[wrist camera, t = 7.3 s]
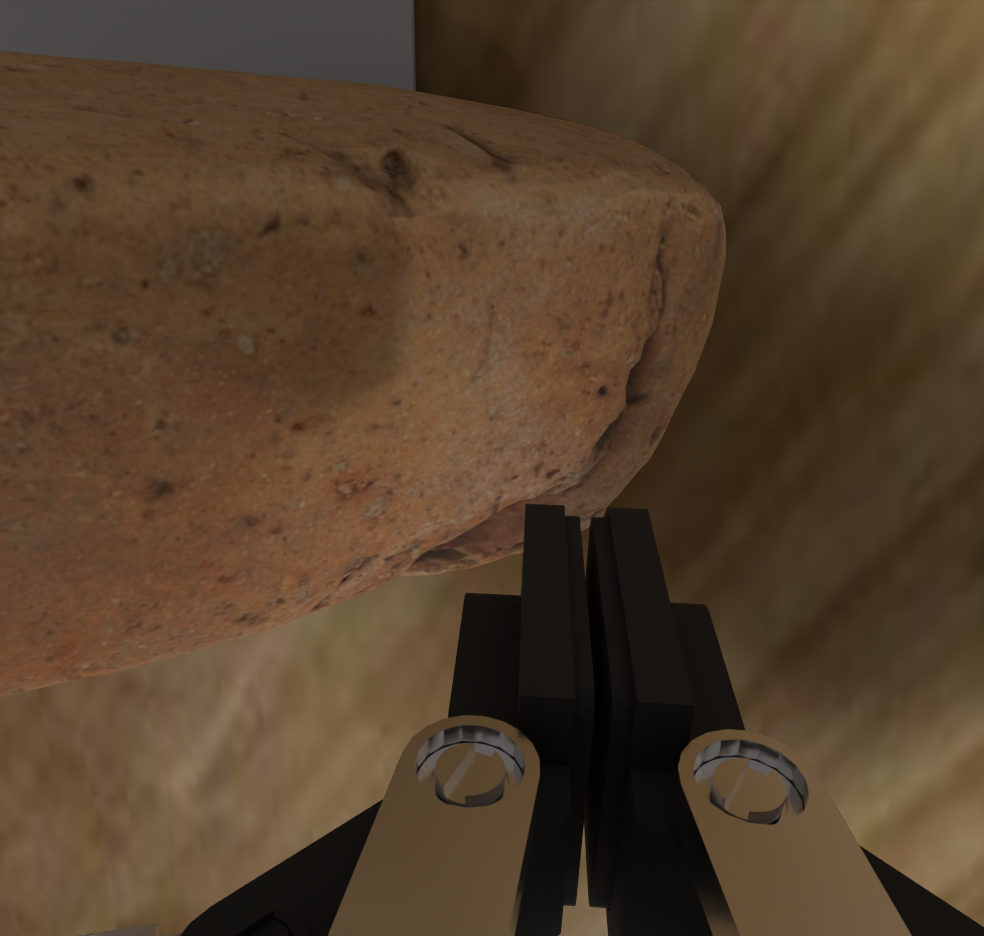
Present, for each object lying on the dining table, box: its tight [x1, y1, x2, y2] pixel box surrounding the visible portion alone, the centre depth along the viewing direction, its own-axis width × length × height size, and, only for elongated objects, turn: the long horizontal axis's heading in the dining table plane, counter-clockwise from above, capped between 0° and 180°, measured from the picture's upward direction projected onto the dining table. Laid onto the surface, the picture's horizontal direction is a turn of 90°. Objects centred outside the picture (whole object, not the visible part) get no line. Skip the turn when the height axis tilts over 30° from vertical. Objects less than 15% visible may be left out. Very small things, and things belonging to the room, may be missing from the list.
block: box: [0, 51, 726, 697], centre depth 18 cm, size 11×8×20 cm
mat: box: [0, 0, 416, 91], centre depth 26 cm, size 22×18×1 cm
